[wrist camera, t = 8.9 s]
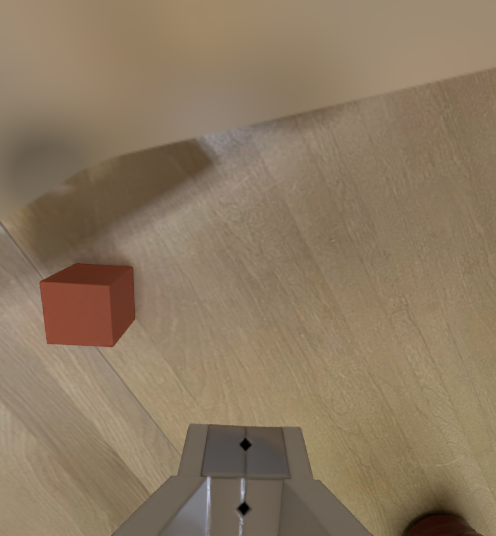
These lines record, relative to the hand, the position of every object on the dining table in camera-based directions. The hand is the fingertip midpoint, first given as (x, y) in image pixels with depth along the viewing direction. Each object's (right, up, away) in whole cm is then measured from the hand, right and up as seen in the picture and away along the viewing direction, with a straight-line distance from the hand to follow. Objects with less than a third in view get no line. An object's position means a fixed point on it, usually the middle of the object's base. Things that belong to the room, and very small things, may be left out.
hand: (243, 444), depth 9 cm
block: (-11, +3, +17) cm, 20 cm away
